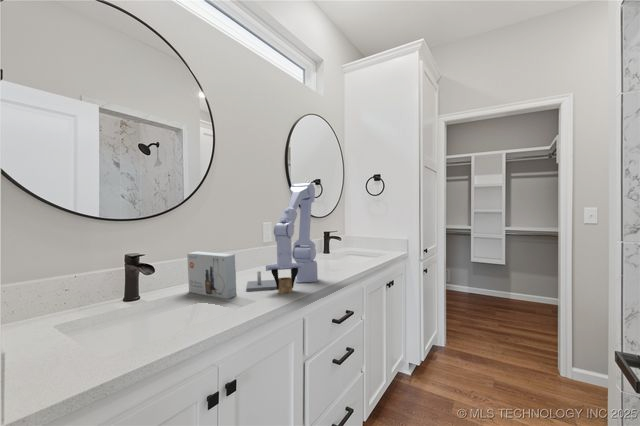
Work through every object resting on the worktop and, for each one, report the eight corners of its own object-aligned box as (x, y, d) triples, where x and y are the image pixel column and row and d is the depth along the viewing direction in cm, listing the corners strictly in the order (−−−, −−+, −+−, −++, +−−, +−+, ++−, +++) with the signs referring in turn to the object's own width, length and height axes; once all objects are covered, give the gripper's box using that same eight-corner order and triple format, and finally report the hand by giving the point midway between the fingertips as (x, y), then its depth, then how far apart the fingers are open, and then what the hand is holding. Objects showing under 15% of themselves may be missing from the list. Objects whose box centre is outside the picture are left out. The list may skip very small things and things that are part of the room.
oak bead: (290, 289, 117) (290, 277, 117) (292, 292, 112) (291, 279, 112) (278, 290, 116) (278, 277, 116) (279, 293, 111) (278, 280, 111)
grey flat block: (289, 281, 131) (288, 266, 131) (291, 288, 119) (291, 271, 119) (247, 284, 127) (247, 268, 127) (246, 291, 115) (245, 274, 115)
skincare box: (187, 292, 115) (186, 252, 115) (198, 289, 120) (197, 251, 120) (226, 299, 106) (225, 255, 105) (237, 295, 110) (236, 253, 110)
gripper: (265, 255, 109) (266, 291, 109) (304, 253, 112) (304, 289, 112) (265, 253, 116) (266, 287, 116) (301, 251, 119) (302, 284, 119)
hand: (285, 287), depth 114 cm, fingers closed on oak bead, 5 cm apart
